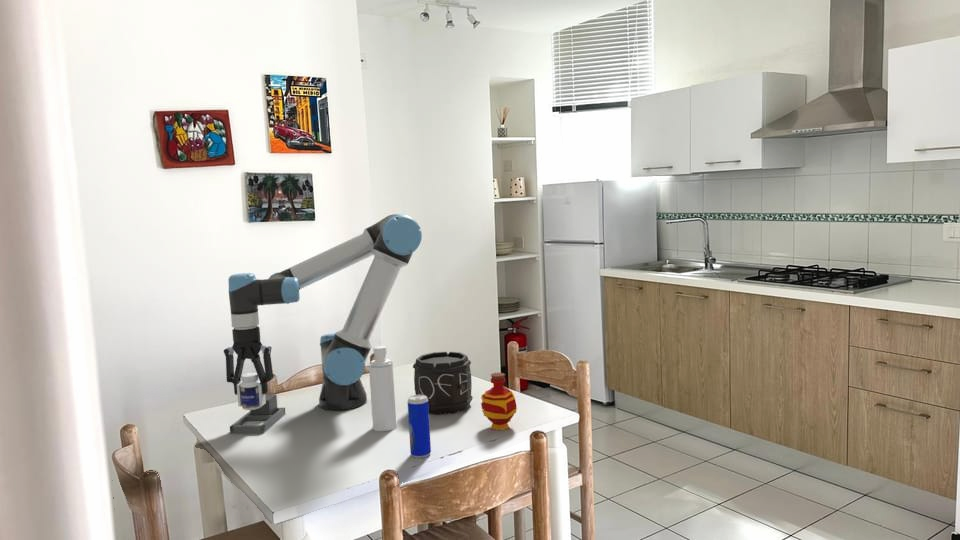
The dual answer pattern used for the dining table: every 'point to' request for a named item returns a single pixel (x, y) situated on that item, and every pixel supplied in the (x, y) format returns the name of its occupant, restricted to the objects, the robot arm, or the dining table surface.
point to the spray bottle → (382, 391)
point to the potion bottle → (498, 403)
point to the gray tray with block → (259, 418)
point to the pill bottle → (250, 391)
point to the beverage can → (419, 426)
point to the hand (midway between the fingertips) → (252, 404)
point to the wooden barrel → (444, 381)
